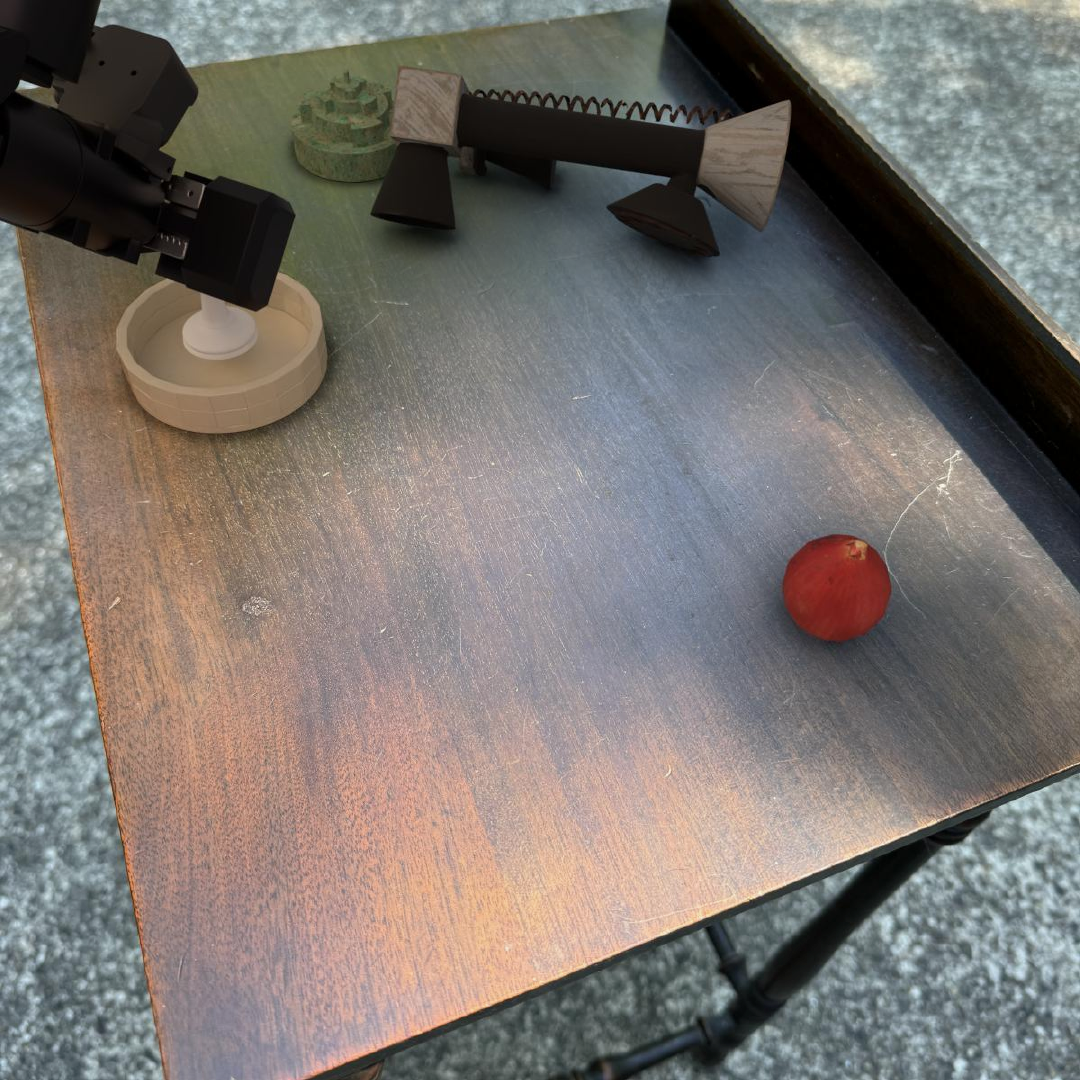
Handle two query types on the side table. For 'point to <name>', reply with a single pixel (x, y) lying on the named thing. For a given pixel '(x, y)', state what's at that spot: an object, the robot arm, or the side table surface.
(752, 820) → the side table surface
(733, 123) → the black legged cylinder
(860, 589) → the onion
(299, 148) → the decorative artifact
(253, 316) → the pan
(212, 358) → the chess piece
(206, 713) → the side table surface
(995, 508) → the side table surface
